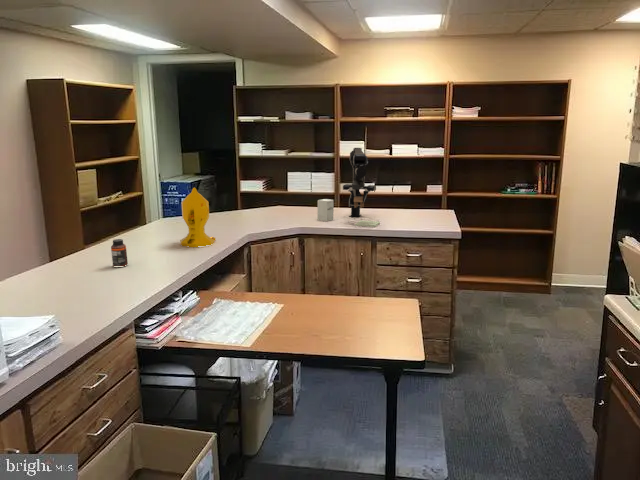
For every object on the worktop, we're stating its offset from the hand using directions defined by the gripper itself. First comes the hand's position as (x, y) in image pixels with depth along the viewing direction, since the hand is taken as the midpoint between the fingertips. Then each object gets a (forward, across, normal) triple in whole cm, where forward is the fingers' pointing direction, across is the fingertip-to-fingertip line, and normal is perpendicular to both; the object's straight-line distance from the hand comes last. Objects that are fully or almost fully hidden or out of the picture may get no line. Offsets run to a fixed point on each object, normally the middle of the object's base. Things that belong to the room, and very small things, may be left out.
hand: (359, 202), depth 305 cm
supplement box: (+13, -23, +5) cm, 27 cm away
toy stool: (+3, 0, 0) cm, 3 cm away
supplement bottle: (+14, -69, -123) cm, 142 cm away
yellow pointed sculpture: (+14, -61, -76) cm, 98 cm away
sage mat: (+13, +5, +1) cm, 14 cm away
